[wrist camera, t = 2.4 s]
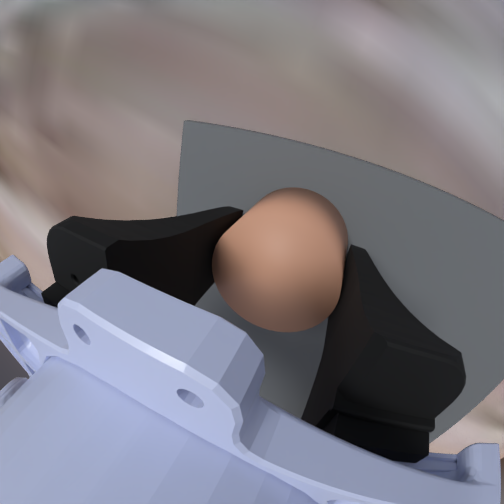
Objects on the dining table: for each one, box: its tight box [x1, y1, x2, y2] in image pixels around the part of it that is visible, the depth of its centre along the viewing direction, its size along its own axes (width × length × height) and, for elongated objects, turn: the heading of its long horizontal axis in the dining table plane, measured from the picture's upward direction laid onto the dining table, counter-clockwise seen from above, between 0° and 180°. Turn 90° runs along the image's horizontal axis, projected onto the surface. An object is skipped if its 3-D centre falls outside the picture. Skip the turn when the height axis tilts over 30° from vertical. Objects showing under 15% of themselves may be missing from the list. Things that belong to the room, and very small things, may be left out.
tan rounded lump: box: [212, 187, 348, 332], centre depth 11 cm, size 4×4×4 cm
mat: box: [177, 120, 504, 443], centre depth 15 cm, size 22×21×1 cm
